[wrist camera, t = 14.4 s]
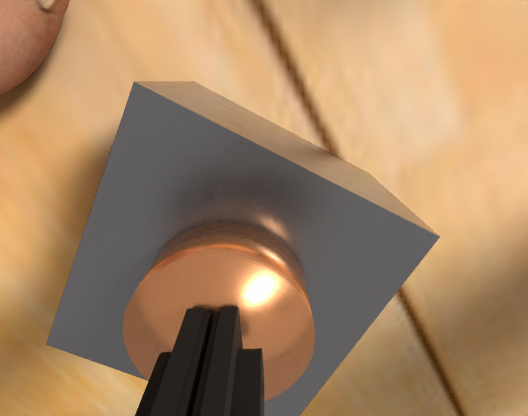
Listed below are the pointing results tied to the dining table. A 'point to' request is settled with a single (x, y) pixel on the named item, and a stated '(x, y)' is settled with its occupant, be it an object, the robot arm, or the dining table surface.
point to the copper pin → (225, 299)
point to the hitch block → (237, 212)
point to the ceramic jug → (26, 37)
